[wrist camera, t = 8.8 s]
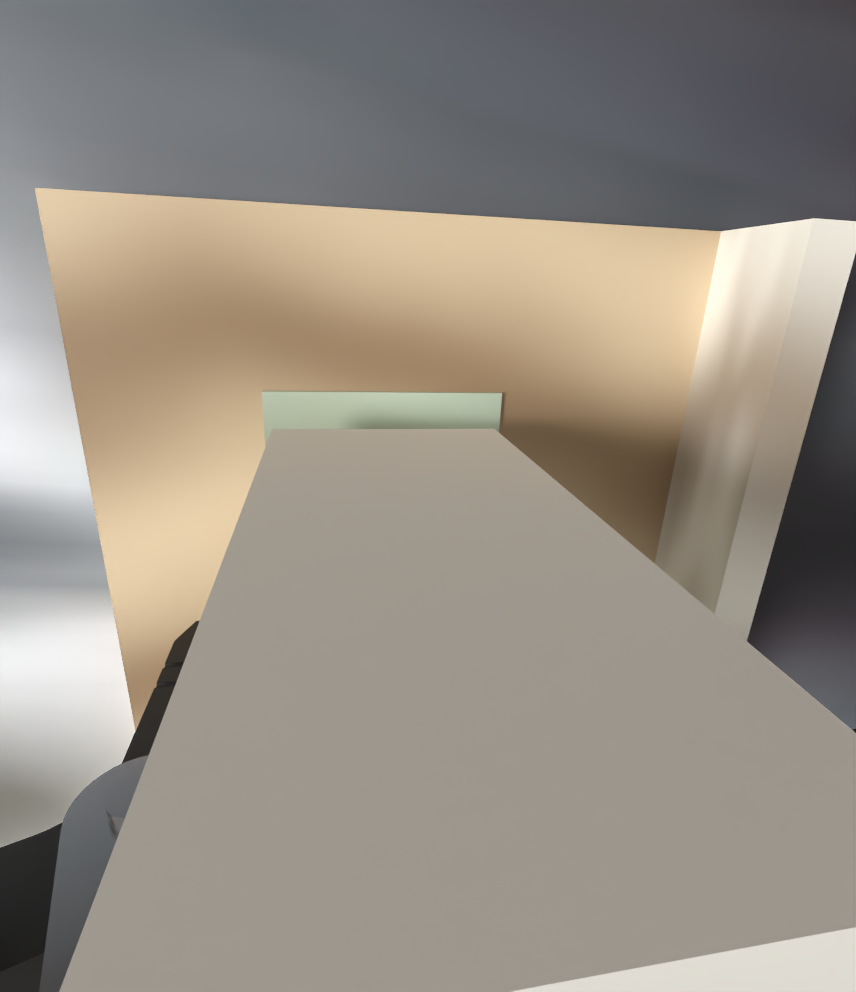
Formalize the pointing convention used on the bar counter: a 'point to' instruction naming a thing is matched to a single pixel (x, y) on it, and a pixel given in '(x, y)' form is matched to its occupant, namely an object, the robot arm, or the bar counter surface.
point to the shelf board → (434, 371)
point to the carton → (470, 757)
